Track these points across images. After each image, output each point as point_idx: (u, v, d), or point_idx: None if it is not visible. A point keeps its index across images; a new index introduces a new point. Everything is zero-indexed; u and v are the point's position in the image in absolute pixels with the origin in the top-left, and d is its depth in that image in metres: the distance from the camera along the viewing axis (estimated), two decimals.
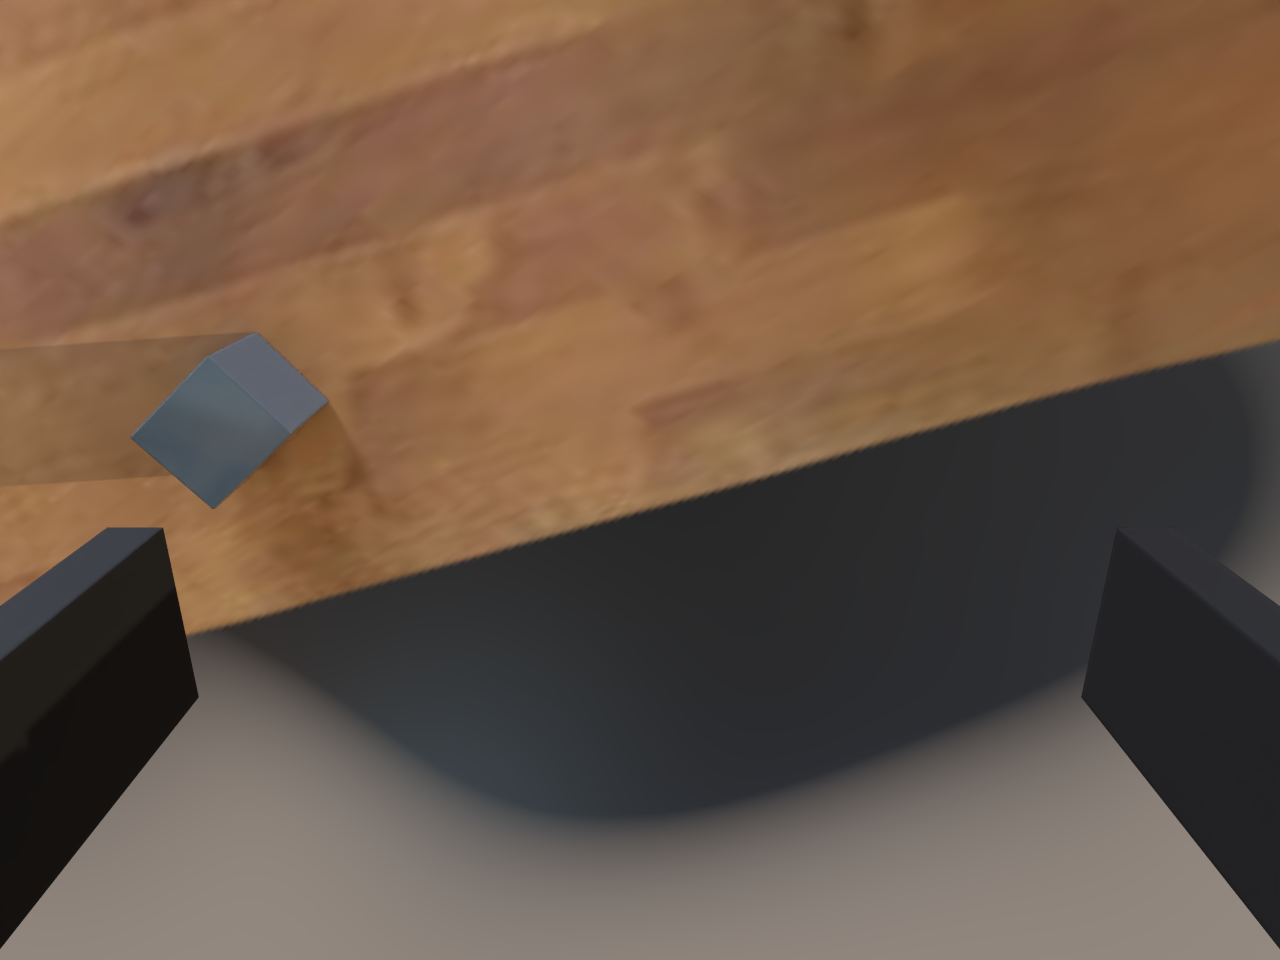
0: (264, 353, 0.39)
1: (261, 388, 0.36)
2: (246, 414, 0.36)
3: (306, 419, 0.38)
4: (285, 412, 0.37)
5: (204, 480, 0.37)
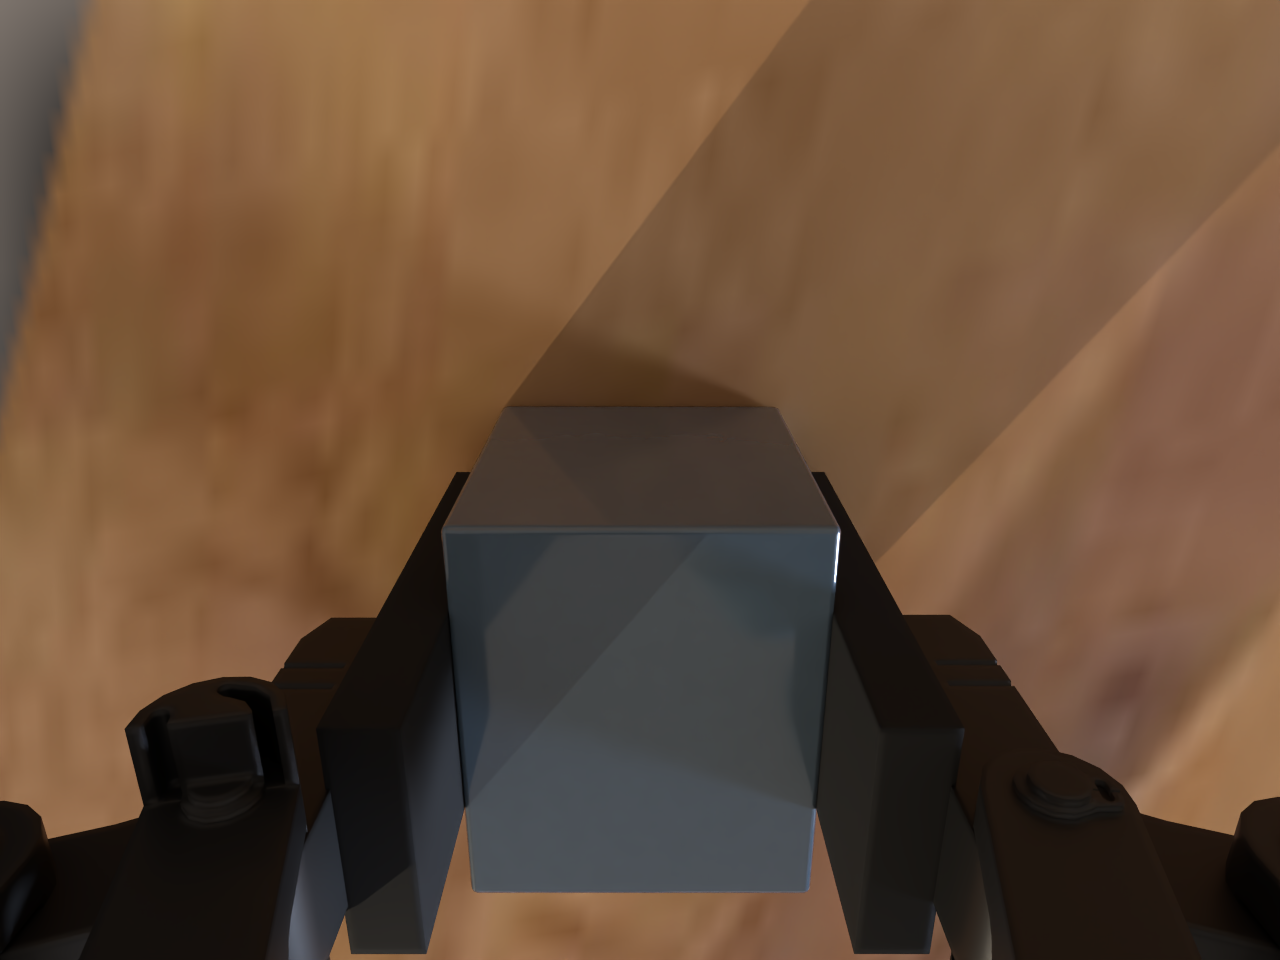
0: None
1: None
2: (608, 847, 0.11)
3: None
4: None
5: (543, 594, 0.10)
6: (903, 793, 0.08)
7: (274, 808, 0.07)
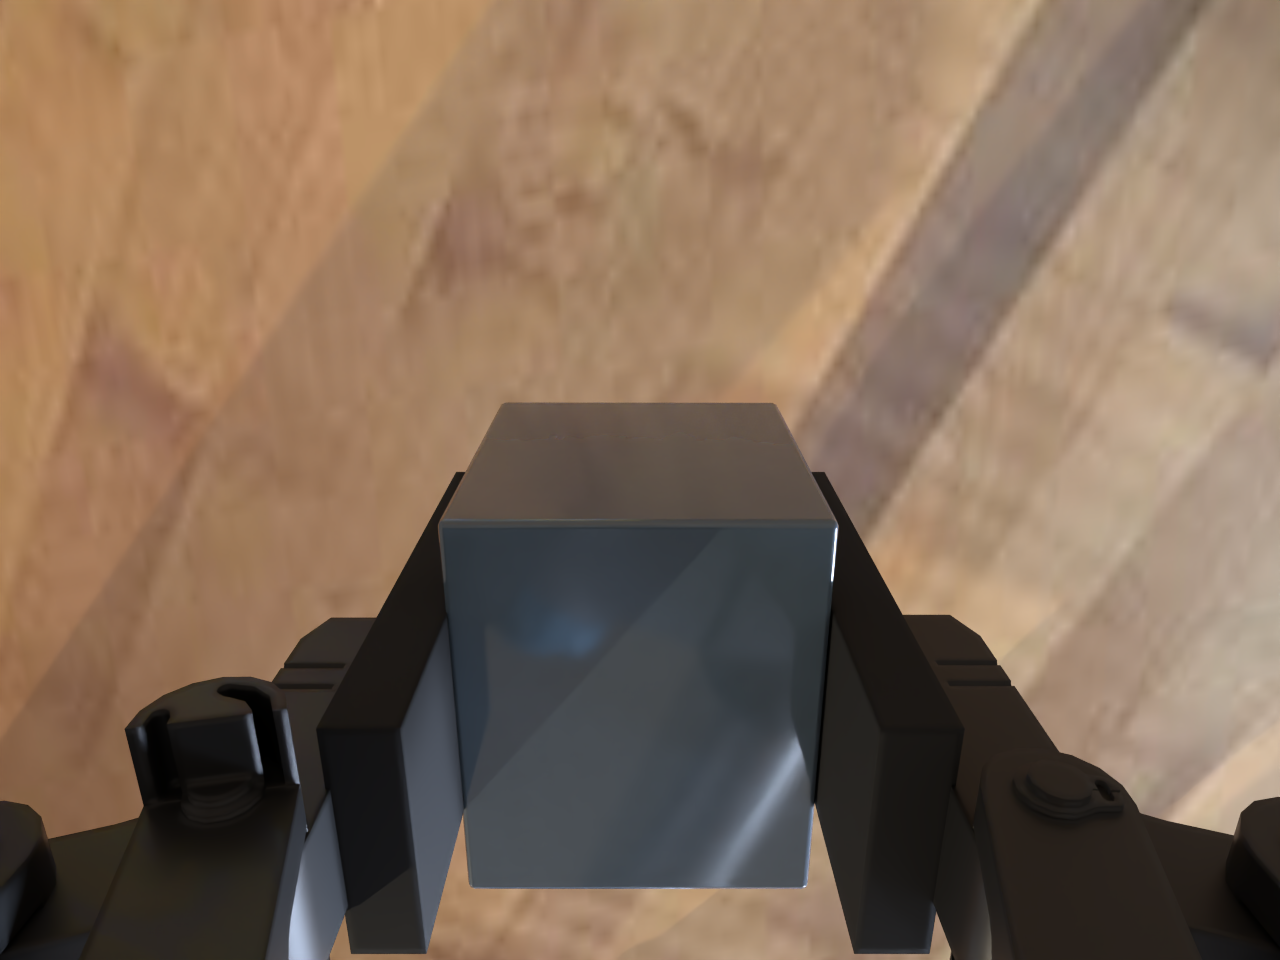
0: None
1: None
2: (605, 843, 0.11)
3: None
4: None
5: (540, 589, 0.10)
6: (903, 793, 0.08)
7: (275, 808, 0.07)
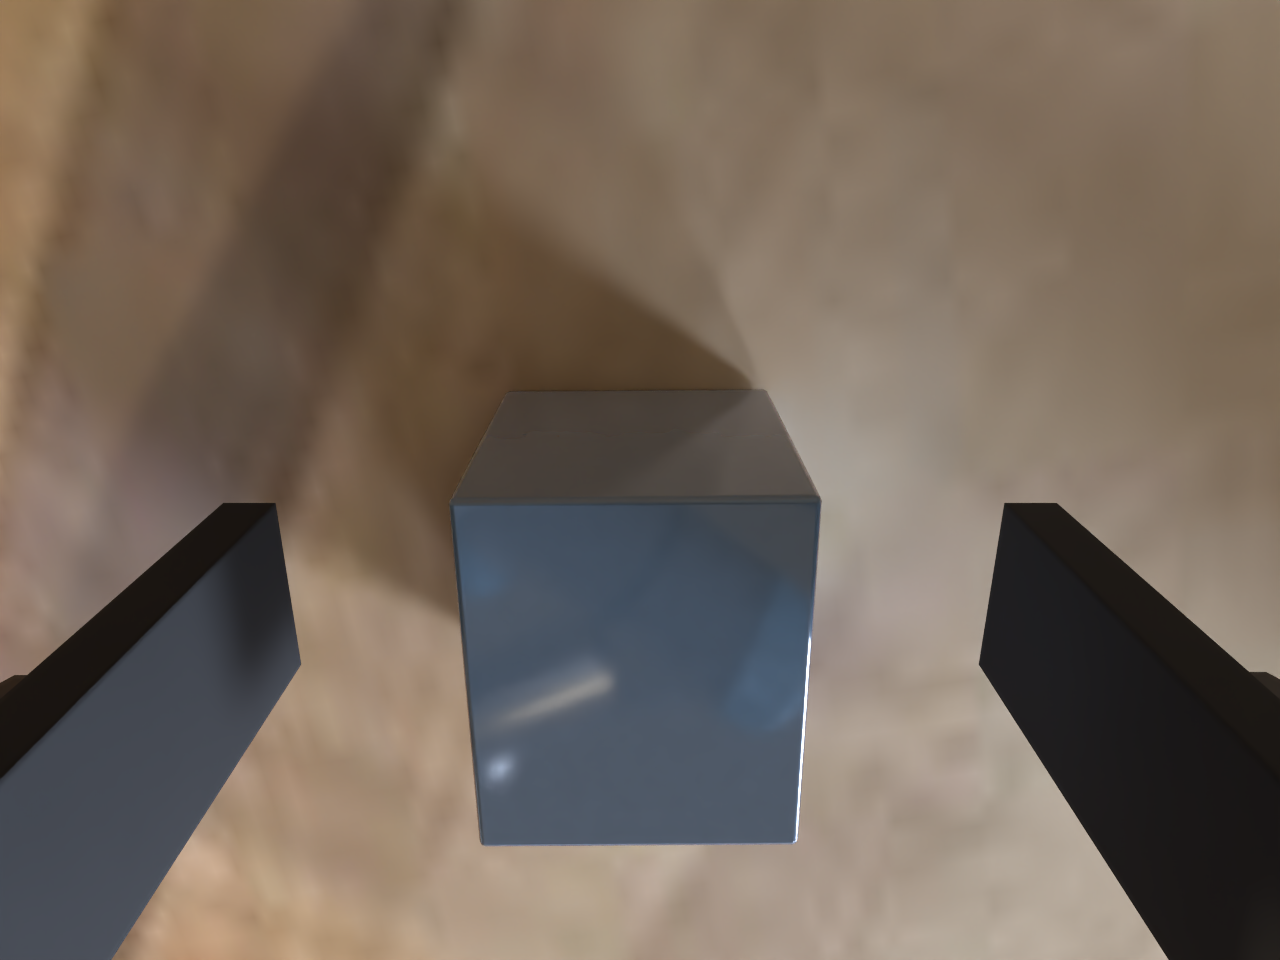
0: None
1: None
2: (607, 802, 0.12)
3: None
4: None
5: (544, 561, 0.10)
6: None
7: None
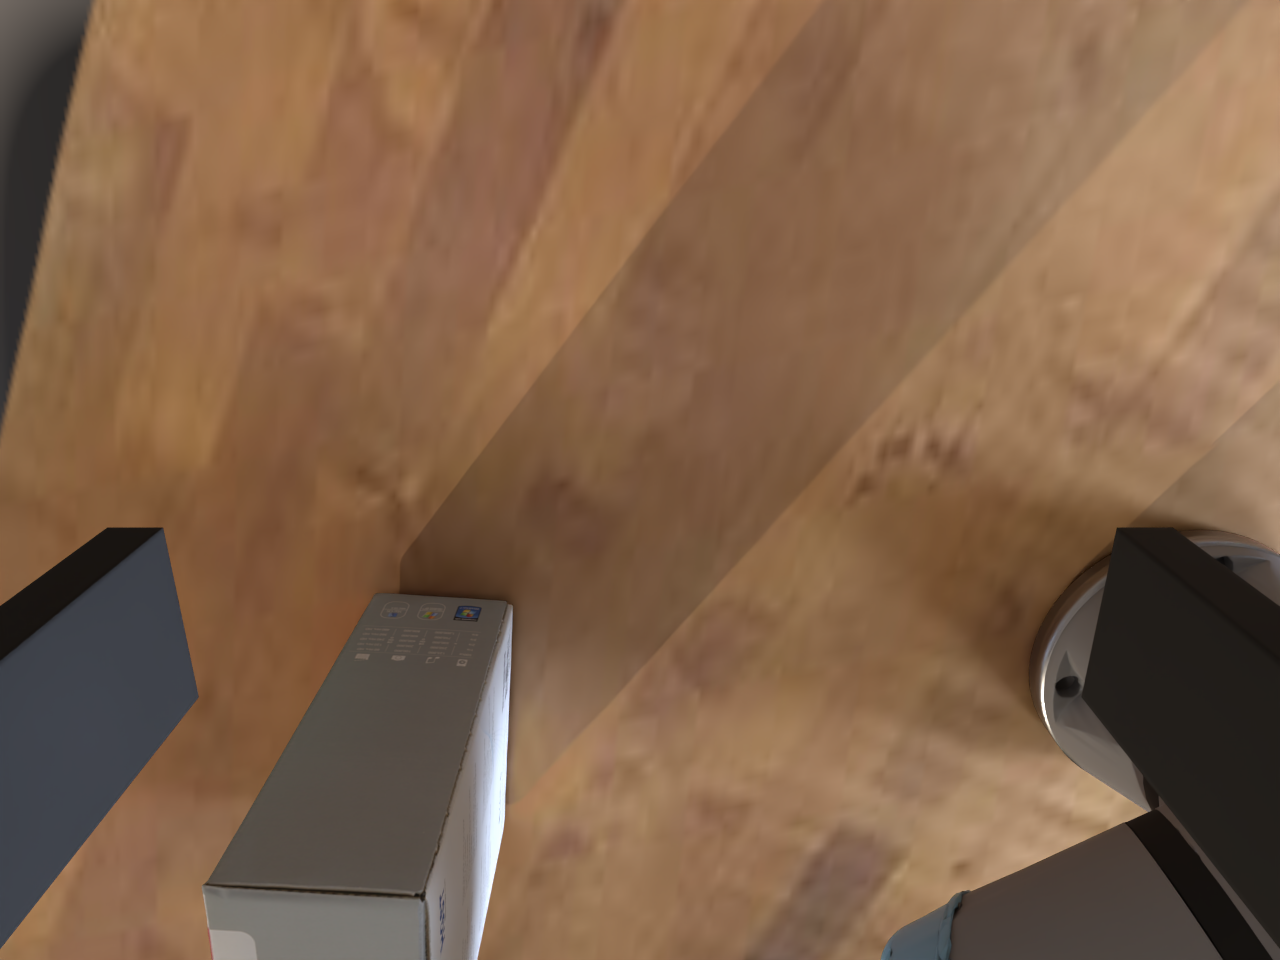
0: None
1: None
2: None
3: None
4: None
5: None
6: None
7: None
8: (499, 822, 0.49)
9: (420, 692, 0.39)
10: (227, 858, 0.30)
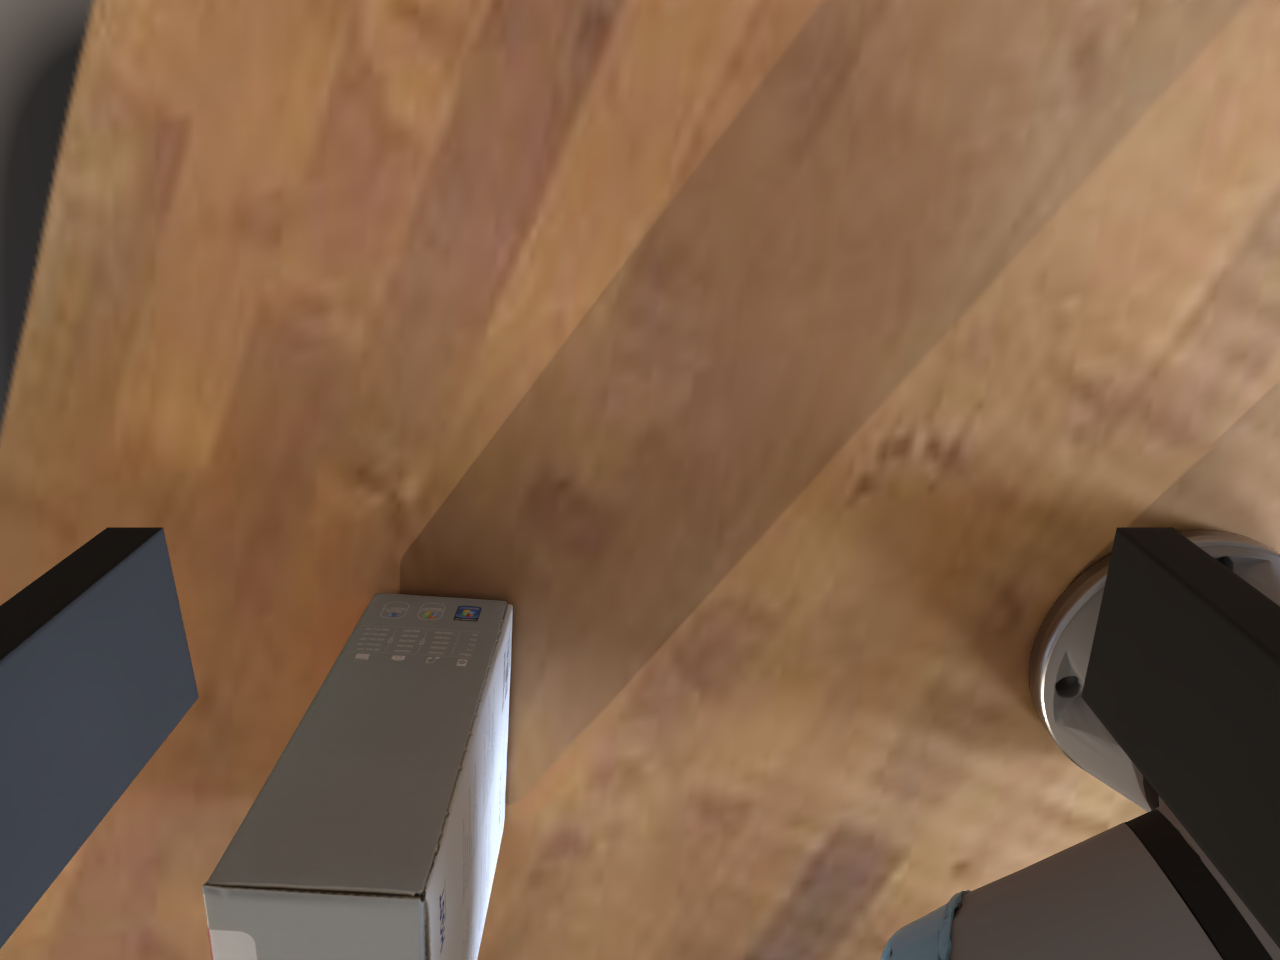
0: None
1: None
2: None
3: None
4: None
5: None
6: None
7: None
8: (499, 822, 0.49)
9: (420, 692, 0.39)
10: (227, 858, 0.30)
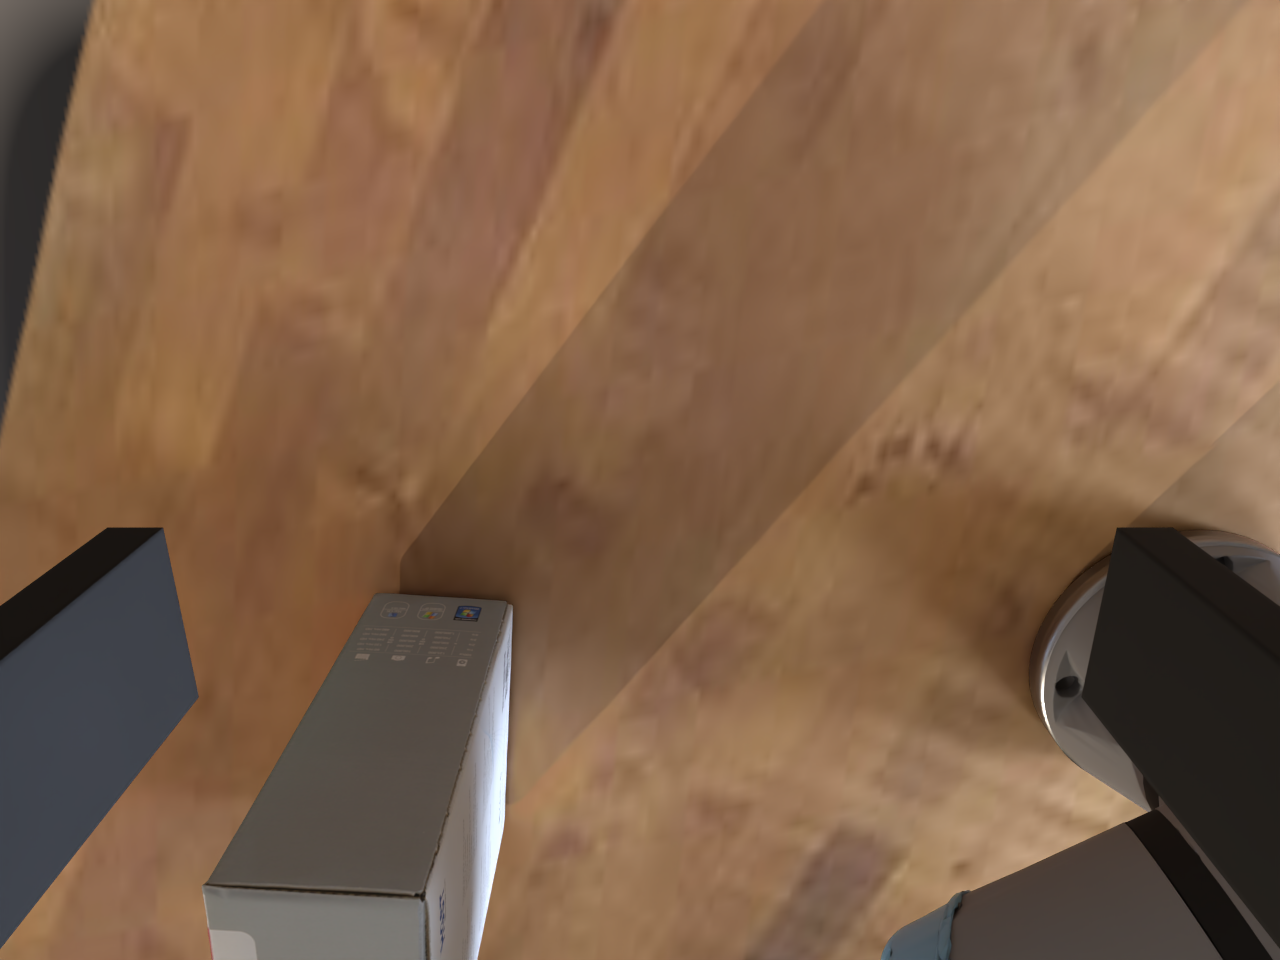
0: None
1: None
2: None
3: None
4: None
5: None
6: None
7: None
8: (499, 822, 0.49)
9: (420, 692, 0.39)
10: (227, 858, 0.30)
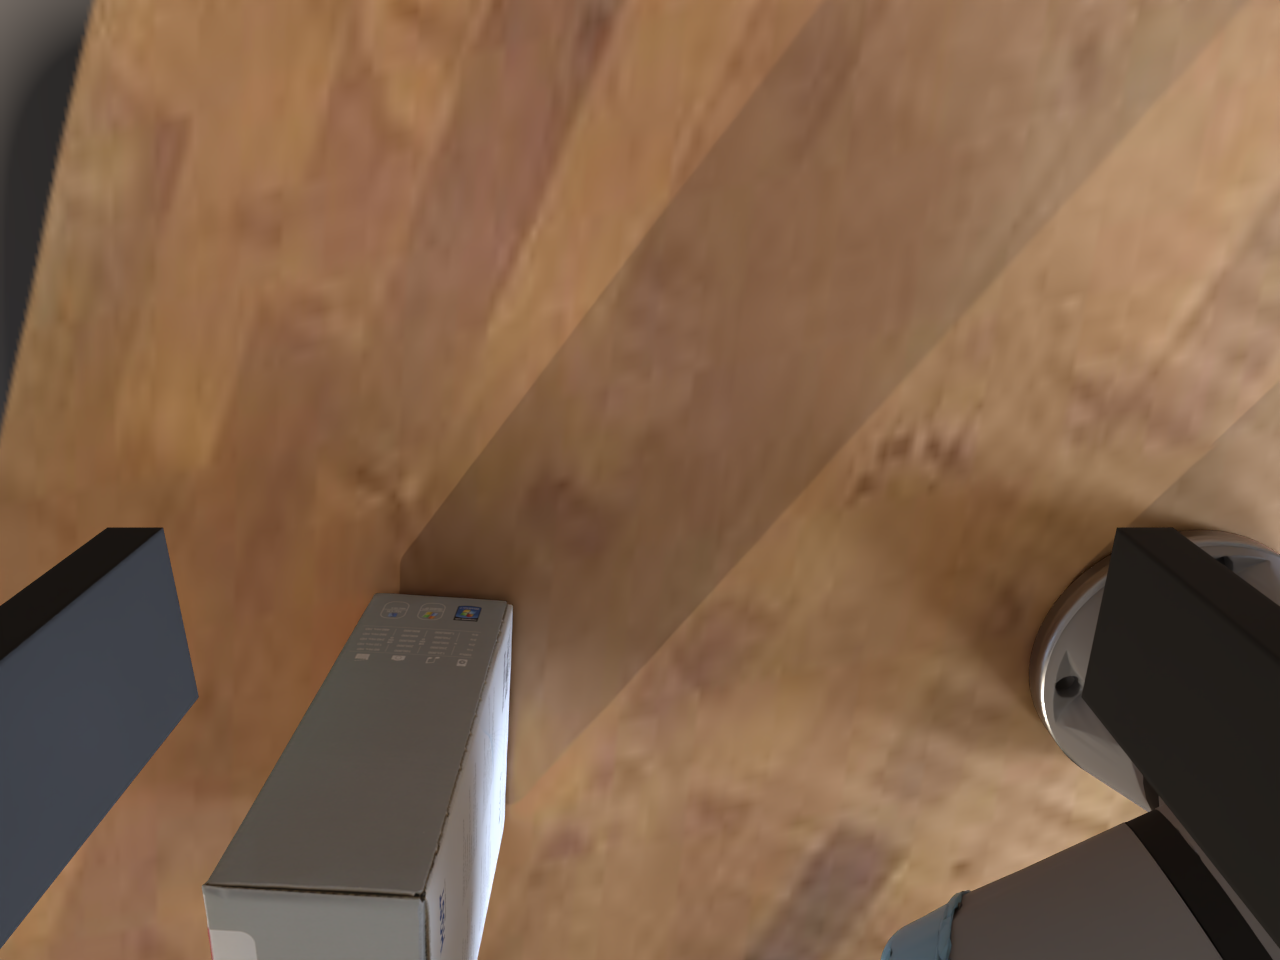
0: None
1: None
2: None
3: None
4: None
5: None
6: None
7: None
8: (499, 822, 0.49)
9: (420, 692, 0.39)
10: (227, 858, 0.30)
